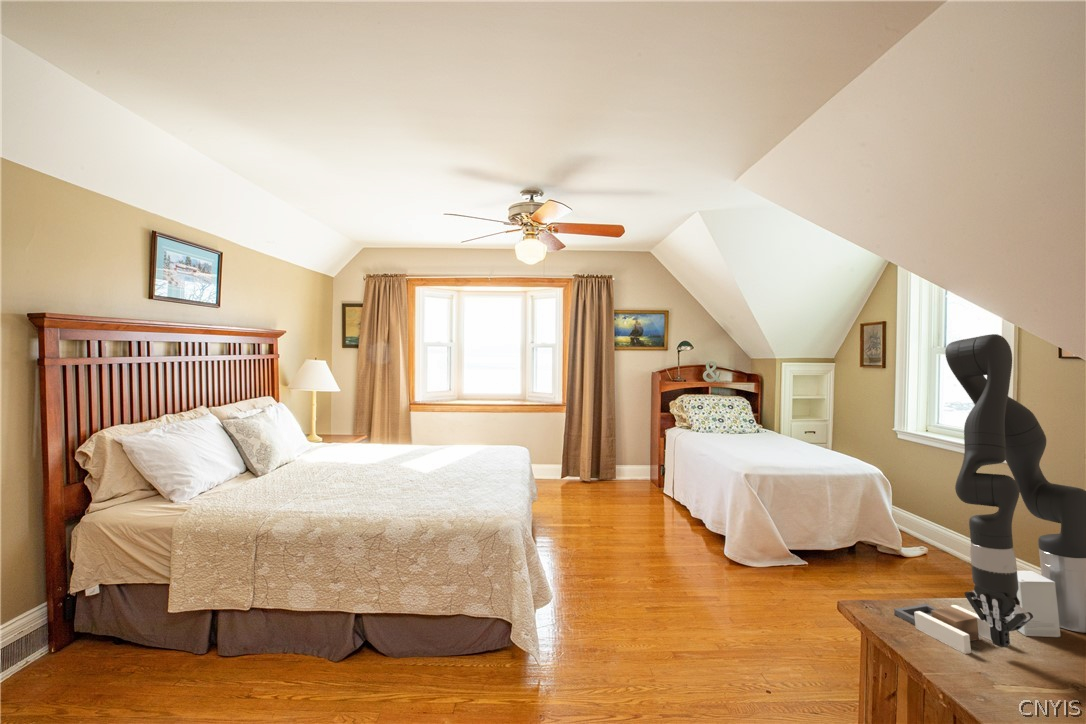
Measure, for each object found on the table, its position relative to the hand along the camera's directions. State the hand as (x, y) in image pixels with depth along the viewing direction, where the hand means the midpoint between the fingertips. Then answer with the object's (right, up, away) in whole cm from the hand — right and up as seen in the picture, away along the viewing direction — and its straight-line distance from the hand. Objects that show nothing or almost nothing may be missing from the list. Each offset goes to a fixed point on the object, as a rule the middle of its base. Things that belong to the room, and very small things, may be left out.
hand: (1000, 645), depth 110 cm
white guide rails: (-1, -3, +9) cm, 9 cm away
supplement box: (+17, -2, +10) cm, 20 cm away
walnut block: (-2, -3, +10) cm, 10 cm away
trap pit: (-3, -3, +19) cm, 19 cm away
